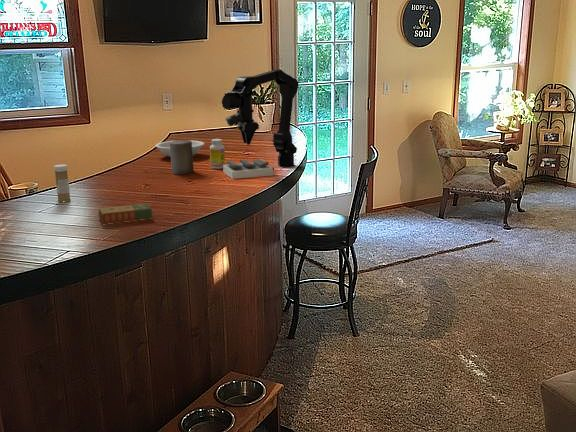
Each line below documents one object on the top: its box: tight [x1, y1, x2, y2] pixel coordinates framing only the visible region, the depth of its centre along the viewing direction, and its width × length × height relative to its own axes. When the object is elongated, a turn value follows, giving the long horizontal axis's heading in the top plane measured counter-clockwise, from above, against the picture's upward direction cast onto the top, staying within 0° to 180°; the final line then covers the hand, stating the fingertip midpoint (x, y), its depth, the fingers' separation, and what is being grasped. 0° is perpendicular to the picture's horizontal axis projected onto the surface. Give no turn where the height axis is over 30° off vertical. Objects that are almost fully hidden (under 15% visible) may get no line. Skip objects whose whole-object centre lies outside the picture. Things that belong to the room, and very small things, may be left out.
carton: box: [98, 203, 154, 225], centre depth 209 cm, size 8×16×4 cm, turn 114°
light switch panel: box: [222, 162, 275, 180], centre depth 277 cm, size 21×16×3 cm
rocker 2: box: [239, 159, 256, 168], centre depth 276 cm, size 4×11×2 cm, turn 19°
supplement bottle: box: [209, 138, 226, 170], centre depth 288 cm, size 7×7×13 cm
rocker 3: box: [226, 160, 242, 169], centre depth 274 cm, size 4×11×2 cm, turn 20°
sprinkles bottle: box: [53, 164, 71, 203], centre depth 233 cm, size 5×5×13 cm
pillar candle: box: [170, 139, 195, 176], centre depth 279 cm, size 10×10×15 cm
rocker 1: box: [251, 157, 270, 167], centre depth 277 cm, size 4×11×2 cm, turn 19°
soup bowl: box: [155, 139, 205, 158], centre depth 317 cm, size 24×24×7 cm
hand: (246, 143), depth 273 cm, fingers open, 5 cm apart
